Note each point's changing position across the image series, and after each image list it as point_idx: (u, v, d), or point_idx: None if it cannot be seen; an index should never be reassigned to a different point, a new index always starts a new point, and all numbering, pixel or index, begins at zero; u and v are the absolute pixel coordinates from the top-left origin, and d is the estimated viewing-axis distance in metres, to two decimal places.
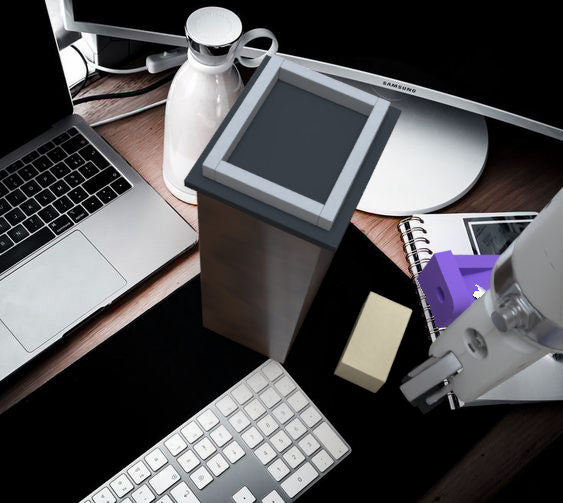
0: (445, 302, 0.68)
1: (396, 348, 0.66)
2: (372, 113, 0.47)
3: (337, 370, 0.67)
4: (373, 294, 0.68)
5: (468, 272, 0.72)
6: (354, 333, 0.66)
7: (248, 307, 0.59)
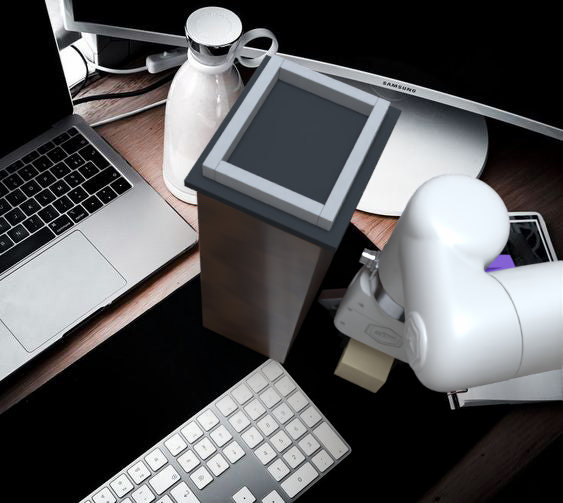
0: None
1: None
2: (372, 113, 0.47)
3: (337, 370, 0.67)
4: None
5: None
6: None
7: (248, 307, 0.59)
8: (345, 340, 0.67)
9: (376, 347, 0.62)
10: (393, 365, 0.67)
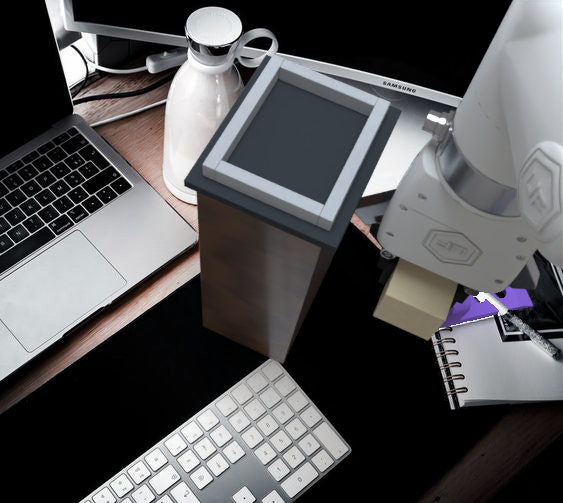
0: None
1: None
2: (372, 113, 0.47)
3: (378, 309, 0.51)
4: None
5: None
6: (401, 258, 0.50)
7: (248, 307, 0.59)
8: (388, 269, 0.50)
9: (435, 270, 0.45)
10: (452, 302, 0.50)
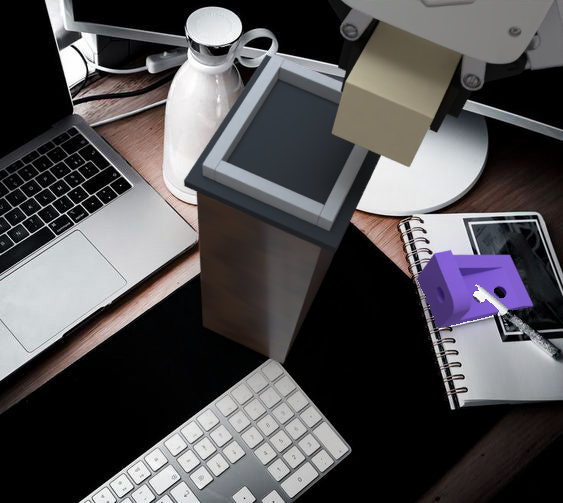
0: (445, 302, 0.68)
1: (453, 66, 0.34)
2: None
3: (338, 118, 0.35)
4: None
5: (468, 272, 0.72)
6: (372, 39, 0.34)
7: (248, 307, 0.59)
8: (353, 60, 0.35)
9: (418, 28, 0.30)
10: (444, 109, 0.35)
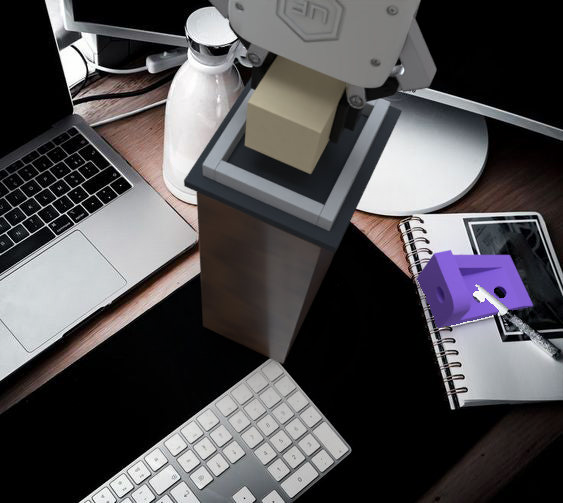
0: (445, 302, 0.68)
1: (342, 88, 0.39)
2: (372, 113, 0.47)
3: (247, 132, 0.41)
4: None
5: (468, 272, 0.72)
6: (273, 65, 0.40)
7: (248, 307, 0.59)
8: None
9: (301, 59, 0.36)
10: (339, 124, 0.41)
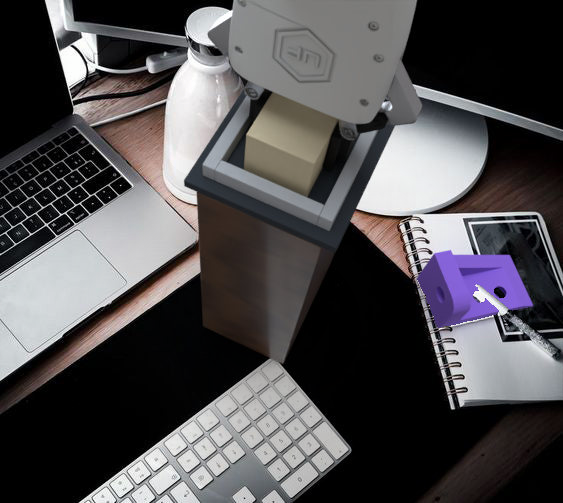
0: (445, 302, 0.68)
1: (335, 120, 0.42)
2: None
3: (246, 161, 0.44)
4: None
5: (468, 272, 0.72)
6: (270, 98, 0.43)
7: (248, 307, 0.59)
8: (257, 114, 0.43)
9: (296, 97, 0.38)
10: (332, 154, 0.43)
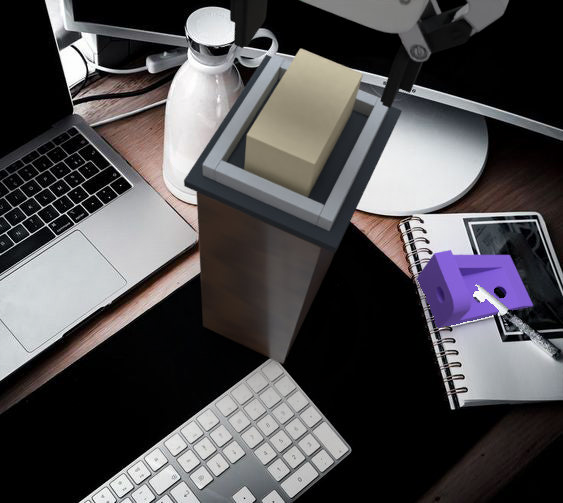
0: (445, 302, 0.68)
1: (335, 120, 0.42)
2: (372, 113, 0.47)
3: (246, 161, 0.44)
4: (304, 51, 0.45)
5: (468, 272, 0.72)
6: (270, 99, 0.43)
7: (248, 307, 0.59)
8: (239, 10, 0.35)
9: (318, 0, 0.31)
10: (395, 83, 0.35)
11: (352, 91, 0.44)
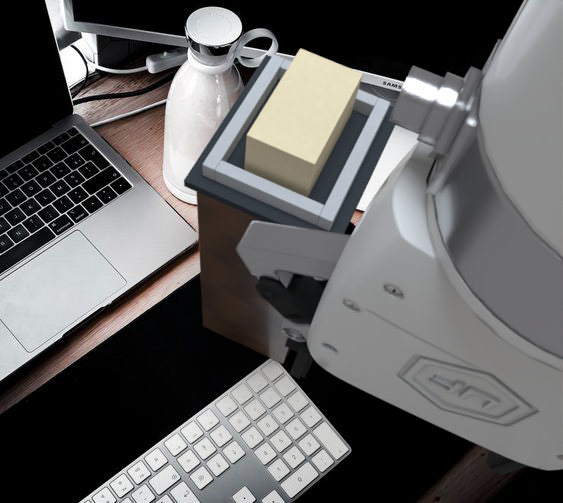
0: None
1: (335, 120, 0.42)
2: (372, 113, 0.47)
3: (246, 161, 0.44)
4: (304, 51, 0.45)
5: None
6: (270, 99, 0.43)
7: (248, 307, 0.59)
8: (302, 359, 0.26)
9: (428, 417, 0.22)
10: (515, 466, 0.26)
11: (352, 91, 0.44)
